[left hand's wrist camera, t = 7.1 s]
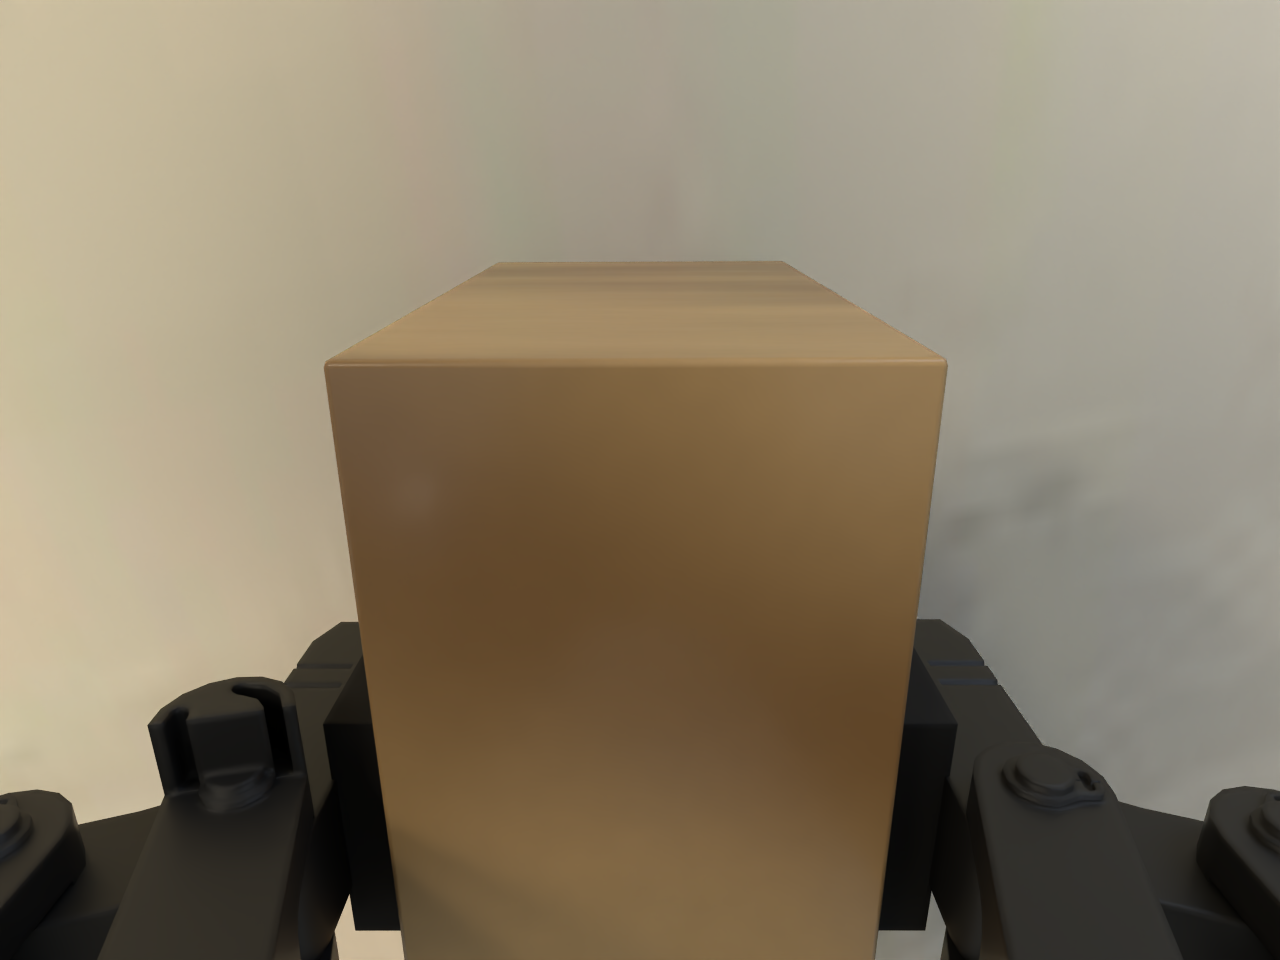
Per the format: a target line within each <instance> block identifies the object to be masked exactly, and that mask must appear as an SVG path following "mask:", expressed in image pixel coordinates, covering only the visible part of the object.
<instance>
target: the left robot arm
mask: <svg viewBox="0 0 1280 960" xmlns="http://www.w3.org/2000/svg"><path fill="white" fill-rule="evenodd" d="M148 729H149V733H150V737H151V741H152V746H153V750H154V754H155V758H156V762H157V766H158V770H159V774H160V778H161V782H162V786H163V790H164V794H165V796H164V799H163V801H162V803H161V805H160V806H157V807H153V808H150V809H146V810H143V811H139V812H135V813H130V814H125V815H121V816H116V817H112V818H107V819H102V820H98V821H93V822H89V823H84V824H79V825H78V823H77V820H76V817H75V813H74V810H73V807H72V803H71V802H69V801H68V800H67V799H66V798H64V797H63V796H62V795H61V794H60V793H55V792H49V791H43V790H30V791H22V792H13V793H7V794H4V795H0V960H339V956H338V949H337V943H336V937H335V928H336V926H337V923H338V921H339V919H340V916H341V914H342V911H343V909H344V906H345V904H346V901H347V899H348V896H349V894H350V899H351V905H352V912H353V918H354V924H355V930H401V929H400V922H399V914H398V907H397V900H396V892H395V885H394V878H393V870H392V863H391V856H390V848H389V841H388V834H387V826H386V819H385V812H384V804H383V797H382V790H381V782H380V775H379V768H378V760H377V753H376V746H375V738H374V731H373V724H372V716H371V709H370V702H369V694H368V687H367V680H366V672H365V665H364V658H363V650H362V643H361V636H360V628H359V622H341V623H339V624H338V625H336V626H335V627H333V628H332V629H330V630H329V631H327V632H326V633H325V634H323V635H322V636H320V637H319V638H317V639H316V640H314V641H313V642H312V644H311V645H310V646H309V648H308V649H307V651H306V652H305V654H304V655H303V656H302V658H301V659H300V661H299V662H298V664H297V669H293V671H292V672H291V674H290V675H289V677H288V678H287V679H286V681H285V682H284V683H283V682H282V681H277V680H273V679H269V678H265V677H236V678H232V679H227V680H222V681H218V682H213V683H209V684H207V685H204V686H202V687H199V688H197V689H194V690H192V691H190V692H187V693H185V694H182V695H181V696H179V697H178V698H176V699H175V700H174V701H172V702H171V703H169V704H168V705H166V706H165V707H163V708H162V709H160V711H159V712H158V713H157V714H156V716H155V717H154V718H153V719H152V720H151V722H150V723H149V724H148ZM931 891H932V893H933V895H934V898H935V900H936V903H937V905H938V908H939V910H940V913H941V915H942V918H943V920H944V922H945V925H946V931H945V937H944V943H943V948H942V954H941V960H1280V791H1277V790H1272V789H1264V788H1256V787H1248V786H1243V787H1236V788H1230V789H1223V790H1222V791H1220V792H1219V793H1218V794H1217V795H1216V796H1214V797H1213V798H1212V799H1211V800H1210V803H1209V806H1208V809H1207V813H1206V816H1205V820H1204V821H1199V820H1194V819H1190V818H1185V817H1181V816H1176V815H1171V814H1167V813H1162V812H1158V811H1153V810H1148V809H1144V808H1140V807H1136V806H1133V805H1129V804H1126V803H1122V802H1119V801H1118V800H1117V797H1116V795H1115V793H1114V792H1113V790H1112V789H1111V787H1110V786H1109V785H1108V783H1107V782H1106V780H1105V779H1104V777H1103V776H1101V775H1100V774H1099V773H1098V772H1096V771H1095V770H1094V769H1092V768H1091V767H1090V766H1088V765H1087V764H1086V763H1085V762H1083V761H1082V760H1080V759H1078V758H1075V757H1073V756H1071V755H1069V754H1067V753H1065V752H1063V751H1060V750H1058V749H1056V748H1052V747H1048V746H1044V745H1042V743H1041V742H1040V740H1039V739H1038V737H1037V736H1036V735H1035V733H1034V732H1033V730H1032V729H1031V728H1030V726H1029V725H1028V723H1027V722H1026V720H1025V719H1024V718H1023V716H1022V715H1021V713H1020V712H1019V710H1018V709H1017V708H1016V706H1015V705H1014V703H1013V702H1012V700H1011V699H1010V698H1009V696H1008V695H1007V693H1006V692H1005V690H1004V689H1003V688H1002V686H1001V685H998V684H997V679H996V678H995V676H994V675H993V673H992V672H991V670H990V669H989V668H988V666H984V661H983V659H982V658H981V656H980V655H979V653H978V652H977V651H976V649H975V648H974V646H973V645H972V643H971V642H970V641H969V639H968V638H966V637H965V636H963V635H962V634H960V633H959V632H958V631H956V630H955V629H953V628H952V627H950V626H949V625H947V624H946V623H944V622H943V621H941V620H940V619H917V620H916V628H915V636H914V645H913V653H912V661H911V669H910V677H909V685H908V693H907V702H906V710H905V718H904V726H903V734H902V742H901V750H900V759H899V767H898V775H897V783H896V791H895V799H894V807H893V816H892V824H891V832H890V840H889V848H888V856H887V864H886V873H885V881H884V889H883V897H882V905H881V913H880V921H879V930H925V928H926V922H927V916H928V910H929V903H930V897H931Z"/></svg>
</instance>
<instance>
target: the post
mask: <svg viewBox="0 0 1280 960" xmlns="http://www.w3.org/2000/svg"><path fill="white" fill-rule="evenodd" d="M947 368H948V364H947V361H946V359H945V358H943V357H942V356H940V355H938V354H937V353H935V352H933V351H932V350H930V349H928V348H927V347H925V346H923V345H922V344H920V343H918V342H917V341H915V340H913V339H912V338H910V337H908V336H907V335H905V334H903V333H902V332H900V331H898V330H897V329H895V328H893V327H892V326H890V325H888V324H886V323H885V322H883V321H881V320H880V319H878V318H876V317H875V316H873V315H871V314H870V313H868V312H866V311H865V310H863V309H861V308H860V307H858V306H856V305H855V304H853V303H851V302H850V301H848V300H846V299H845V298H843V297H841V296H840V295H838V294H836V293H835V292H833V291H831V290H830V289H828V288H826V287H825V286H823V285H821V284H820V283H818V282H816V281H815V280H813V279H811V278H810V277H808V276H806V275H805V274H803V273H801V272H800V271H798V270H796V269H795V268H793V267H791V266H790V265H788V264H786V263H785V262H782V261H718V262H502V263H497V264H495V265H493V266H491V267H490V268H488V269H486V270H485V271H483V272H481V273H479V274H478V275H476V276H474V277H472V278H471V279H469V280H467V281H465V282H464V283H462V284H460V285H458V286H457V287H455V288H453V289H451V290H450V291H448V292H446V293H444V294H443V295H441V296H439V297H437V298H436V299H434V300H432V301H430V302H429V303H427V304H425V305H423V306H422V307H420V308H418V309H416V310H415V311H413V312H411V313H409V314H408V315H406V316H404V317H402V318H401V319H399V320H397V321H395V322H394V323H392V324H390V325H388V326H387V327H385V328H383V329H381V330H380V331H378V332H376V333H374V334H373V335H371V336H369V337H368V338H366V339H364V340H362V341H361V342H359V343H357V344H355V345H354V346H352V347H350V348H348V349H347V350H345V351H343V352H341V353H340V354H338V355H336V356H334V357H333V358H331V359H329V360H327V361H326V362H325V366H324V372H325V379H326V387H327V394H328V401H329V409H330V416H331V423H332V431H333V438H334V445H335V452H336V460H337V467H338V474H339V482H340V489H341V496H342V504H343V511H344V518H345V526H346V533H347V540H348V548H349V555H350V562H351V570H352V577H353V584H354V592H355V599H356V606H357V614H358V621H359V628H360V636H361V643H362V650H363V658H364V665H365V672H366V680H367V687H368V694H369V702H370V709H371V716H372V724H373V731H374V738H375V746H376V753H377V760H378V768H379V775H380V782H381V790H382V797H383V804H384V812H385V819H386V826H387V834H388V841H389V848H390V856H391V863H392V870H393V878H394V885H395V892H396V900H397V907H398V914H399V922H400V929H401V936H402V943H403V951H404V958H405V960H875V954H876V946H877V938H878V930H879V921H880V913H881V905H882V897H883V889H884V881H885V873H886V864H887V856H888V848H889V840H890V832H891V824H892V816H893V807H894V799H895V791H896V783H897V775H898V767H899V759H900V750H901V742H902V734H903V726H904V718H905V710H906V702H907V693H908V685H909V677H910V669H911V661H912V653H913V645H914V636H915V628H916V620H917V612H918V604H919V596H920V588H921V579H922V571H923V563H924V555H925V547H926V539H927V531H928V522H929V514H930V506H931V498H932V490H933V482H934V474H935V465H936V457H937V449H938V441H939V433H940V425H941V417H942V408H943V400H944V392H945V384H946V376H947Z"/></svg>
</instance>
